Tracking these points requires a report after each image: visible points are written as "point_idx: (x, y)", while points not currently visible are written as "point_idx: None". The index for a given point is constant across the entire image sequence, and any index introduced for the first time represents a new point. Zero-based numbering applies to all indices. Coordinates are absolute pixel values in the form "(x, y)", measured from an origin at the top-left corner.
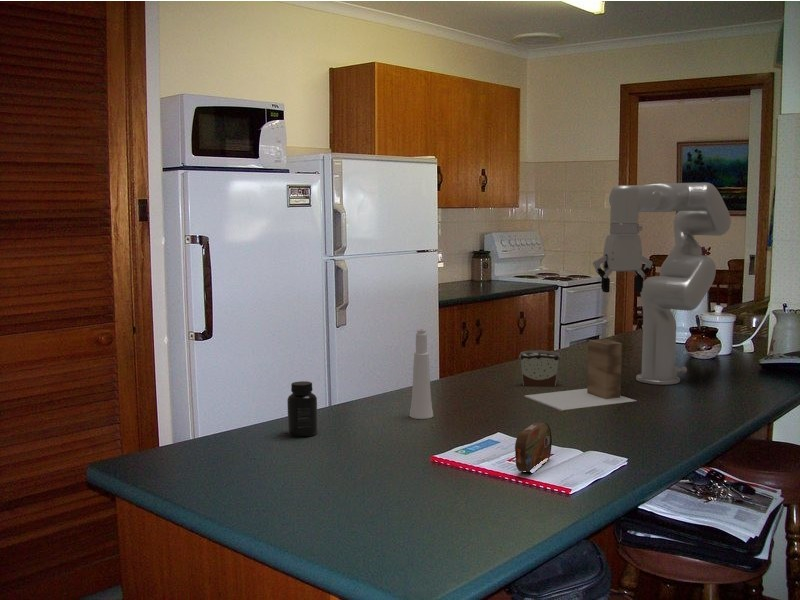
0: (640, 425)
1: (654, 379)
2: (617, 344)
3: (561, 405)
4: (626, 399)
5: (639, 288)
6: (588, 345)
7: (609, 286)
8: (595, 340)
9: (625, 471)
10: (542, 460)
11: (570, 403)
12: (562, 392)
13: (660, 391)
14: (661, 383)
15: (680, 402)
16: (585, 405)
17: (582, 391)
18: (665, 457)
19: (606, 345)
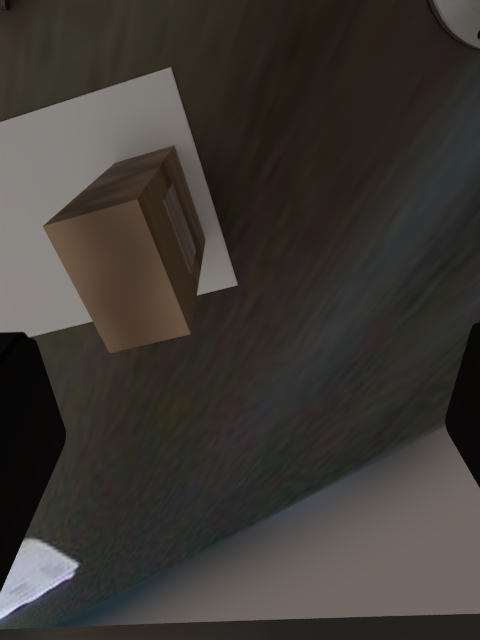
0: (159, 450)
1: (468, 5)
2: (167, 337)
3: (5, 302)
4: (213, 266)
5: (460, 453)
6: (53, 217)
7: (41, 494)
8: (80, 238)
9: (63, 593)
10: None
11: (34, 285)
12: (25, 135)
13: (391, 155)
14: (469, 46)
15: (357, 301)
16: (73, 311)
17: (103, 131)
18: (134, 566)
19: (109, 348)
